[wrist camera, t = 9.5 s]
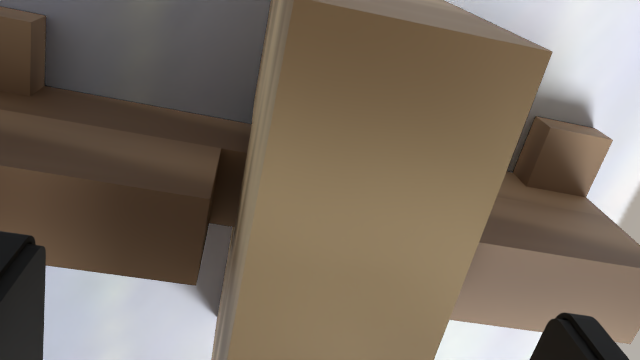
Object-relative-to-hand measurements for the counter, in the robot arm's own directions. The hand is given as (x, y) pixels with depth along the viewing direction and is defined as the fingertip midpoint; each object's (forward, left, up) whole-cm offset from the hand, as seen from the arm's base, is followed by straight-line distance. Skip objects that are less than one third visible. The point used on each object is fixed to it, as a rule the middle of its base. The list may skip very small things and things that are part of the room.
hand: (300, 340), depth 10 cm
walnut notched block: (0, 0, -7) cm, 7 cm away
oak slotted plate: (0, 0, -7) cm, 7 cm away
